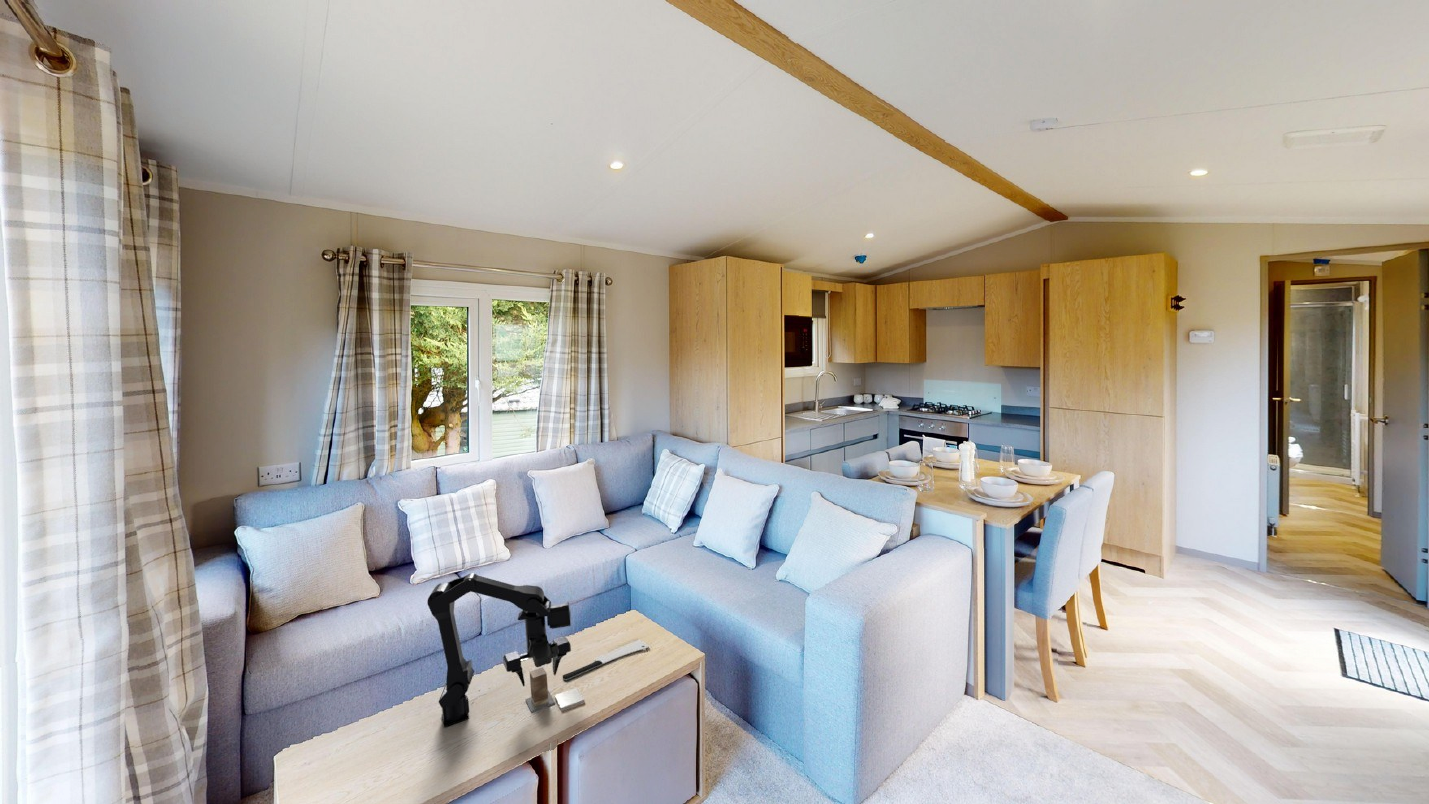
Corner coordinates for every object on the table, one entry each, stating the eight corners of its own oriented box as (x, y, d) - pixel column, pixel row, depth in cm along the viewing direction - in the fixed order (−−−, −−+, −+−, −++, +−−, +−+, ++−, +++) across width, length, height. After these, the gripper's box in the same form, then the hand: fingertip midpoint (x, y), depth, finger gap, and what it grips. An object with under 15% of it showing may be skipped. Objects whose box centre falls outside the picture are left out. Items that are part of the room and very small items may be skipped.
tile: (555, 700, 165) (561, 713, 159) (554, 695, 164) (560, 708, 158) (577, 692, 168) (584, 704, 162) (577, 687, 168) (584, 699, 162)
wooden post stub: (534, 707, 160) (532, 678, 160) (531, 699, 164) (529, 671, 163) (548, 701, 163) (546, 673, 162) (545, 694, 166) (543, 667, 165)
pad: (531, 712, 158) (531, 711, 158) (525, 700, 164) (525, 699, 164) (555, 703, 162) (555, 702, 162) (548, 691, 168) (548, 690, 168)
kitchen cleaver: (636, 636, 199) (650, 643, 191) (637, 640, 199) (651, 648, 191) (554, 668, 180) (566, 678, 172) (555, 674, 180) (567, 684, 172)
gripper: (509, 652, 150) (513, 706, 151) (575, 632, 160) (578, 682, 161) (500, 635, 159) (504, 686, 160) (563, 617, 169) (566, 664, 170)
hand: (539, 680), depth 163 cm, fingers open, 9 cm apart
